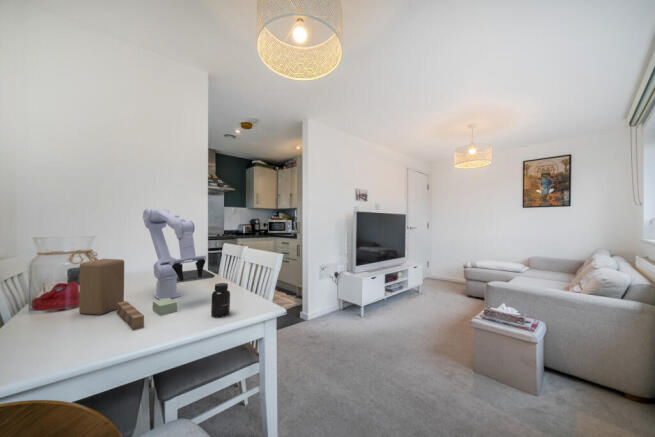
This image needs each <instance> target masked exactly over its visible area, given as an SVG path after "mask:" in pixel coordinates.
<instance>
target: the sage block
mask: <svg viewBox="0 0 655 437" xmlns="http://www.w3.org/2000/svg"><path fill="white" fill-rule="evenodd" d="M152 311H153V312H154V313H155V314H157V315H158V316H159V317H160V316H164V315H168V313H169V314H171V313H176V312H177V311H178V301H176V300H174V299H173V298H166V299H162V300H159V299H157V300H153V301H152Z"/></svg>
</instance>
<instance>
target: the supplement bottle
mask: <svg viewBox="0 0 655 437" xmlns="http://www.w3.org/2000/svg"><path fill="white" fill-rule="evenodd" d="M228 289H229V284H228V283H226V282H219V283H215V284H214V291H212V293H211V303H210V304H211V305H210V307H211V308H210V315H211V317H213V318H222V316H224V317H227V316H229V314H230V311H231V309H230V308H231V292H230V290H228ZM226 315H227V316H226Z"/></svg>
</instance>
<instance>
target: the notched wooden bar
mask: <svg viewBox="0 0 655 437" xmlns="http://www.w3.org/2000/svg"><path fill="white" fill-rule="evenodd" d="M116 314H117V315H118V316H119V317H120V318H121V319H122V320H123V321H124V322H125V323H126V325H127V326H129V328H131V329H132V330H133V331H135V330H138V329H142V328H144V327H145V315H144V314H143V313H142V312H140V311H139V310H138V309H137V308H135V307H134V306H133V304H131V303H130V302H128V301H127V300H126V301H125V300H124V302H119V303H117V309H116Z"/></svg>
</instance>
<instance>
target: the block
mask: <svg viewBox="0 0 655 437" xmlns="http://www.w3.org/2000/svg"><path fill="white" fill-rule="evenodd" d="M79 264H80V265H79V295H78V296H79V301H78V302H79V303H78V305H79V306H78V312H79V314H83V315H85V314H86V315H96V316H97V315H99V316H100V315H104V314H107V313H109V312H112V311H114V310H117V303H119V302H124V301H125V299H124V298H125V260H124V259H117V258H116V259H115V258H113V259H112V258H102V259H95V260H89V261H83V262H81V263H79Z"/></svg>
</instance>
